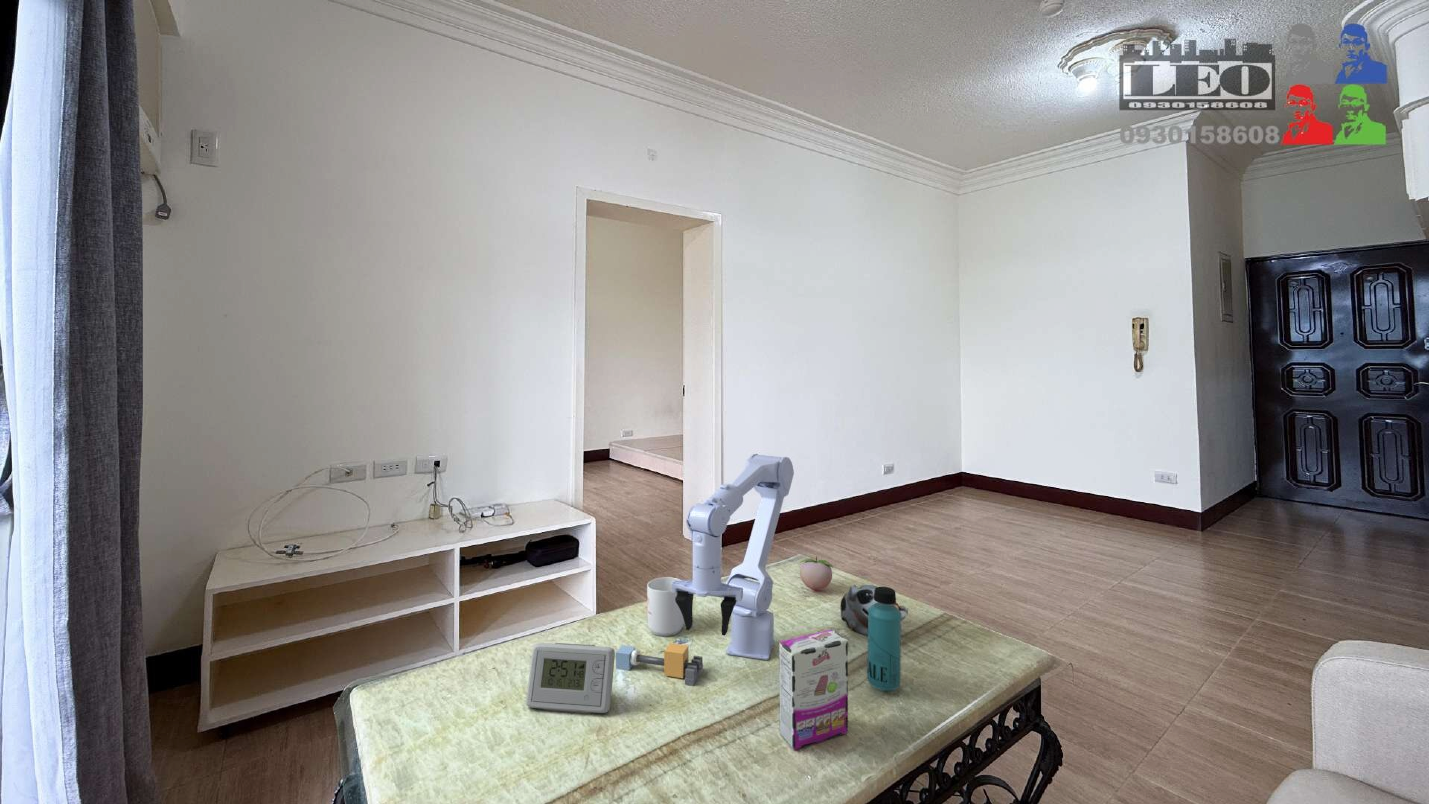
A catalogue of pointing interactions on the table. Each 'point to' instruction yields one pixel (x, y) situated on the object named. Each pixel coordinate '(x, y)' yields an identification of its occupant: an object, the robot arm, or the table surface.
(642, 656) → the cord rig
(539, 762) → the table surface
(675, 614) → the mug
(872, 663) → the beverage bottle
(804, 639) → the candy bar box
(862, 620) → the grey black rounded piece
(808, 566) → the decorative fruit
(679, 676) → the sleeve
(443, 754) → the table surface
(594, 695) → the digital clock
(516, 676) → the table surface
